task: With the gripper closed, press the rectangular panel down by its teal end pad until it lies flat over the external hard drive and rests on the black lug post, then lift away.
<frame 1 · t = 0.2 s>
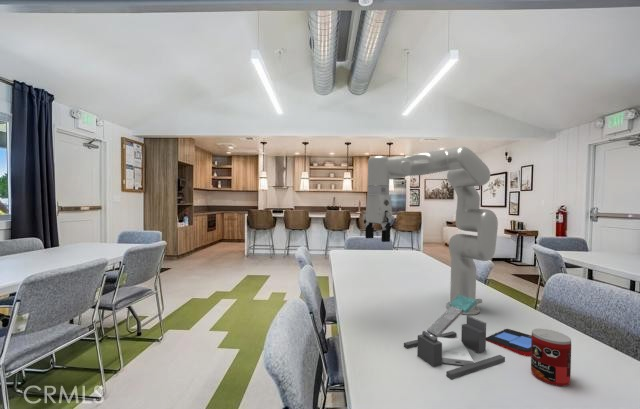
hand: (377, 239, 100), 31 cm above the table, tool pointing down, fingers open, 9 cm apart
game console: (515, 344, 91), on the table
rectangular panel: (448, 317, 83), point 11 cm above the table, hinge at 30.0°
external hard drive: (452, 353, 83), resting in socket frame
canned food: (549, 378, 73), on the table
socket frame: (452, 353, 83), on the table
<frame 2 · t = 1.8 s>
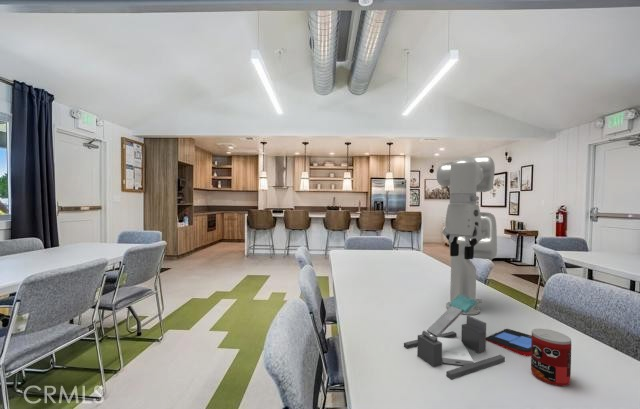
hand: (461, 256, 90), 27 cm above the table, tool pointing down, fingers open, 4 cm apart
nothing on the table moved.
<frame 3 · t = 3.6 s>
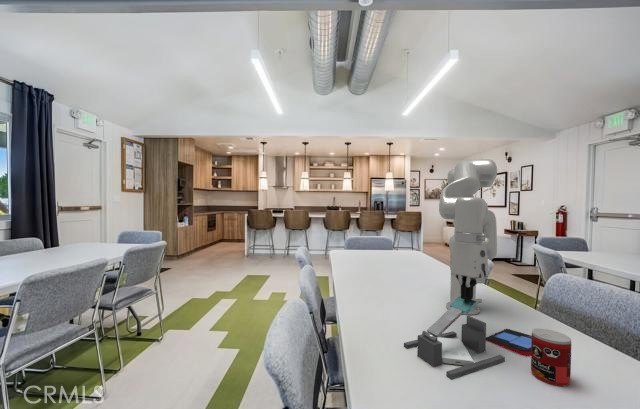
hand: (466, 298, 86), 16 cm above the table, tool pointing down, fingers closed
rectangular panel: (449, 317, 83), point 11 cm above the table, hinge at 28.6°, touching gripper
everything else where it was.
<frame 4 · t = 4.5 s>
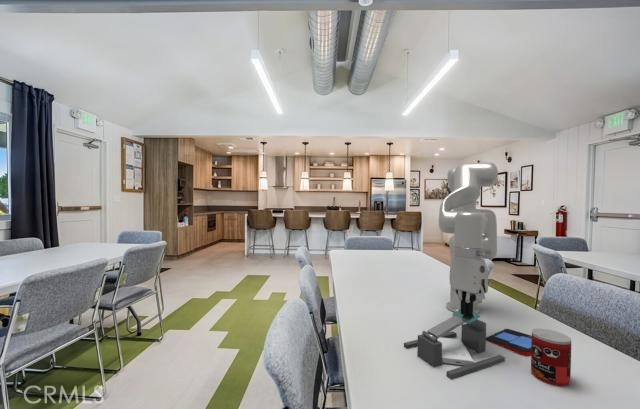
hand: (466, 314, 85), 11 cm above the table, tool pointing down, fingers closed
rectangular panel: (450, 324, 83), point 9 cm above the table, hinge at 14.2°, touching gripper
everything else where it was.
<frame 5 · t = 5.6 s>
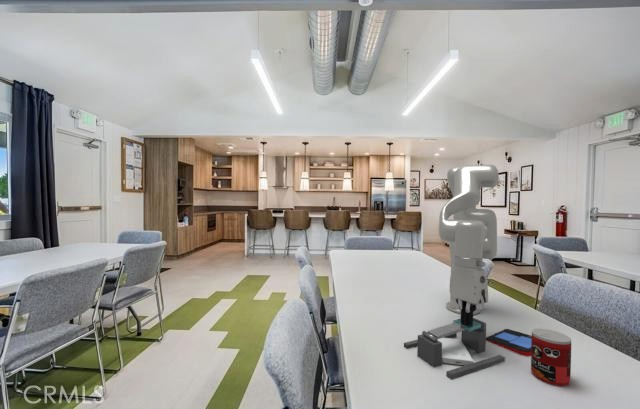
hand: (466, 323, 85), 8 cm above the table, tool pointing down, fingers closed
rectangular panel: (451, 329, 83), point 7 cm above the table, hinge at 4.0°, touching gripper
everything else where it was.
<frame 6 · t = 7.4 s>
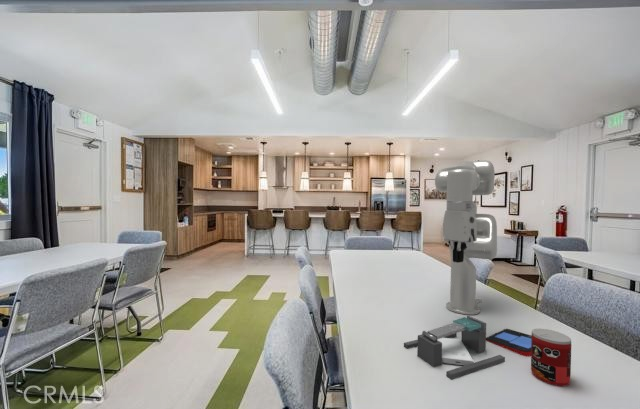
hand: (458, 261, 95), 25 cm above the table, tool pointing down, fingers closed
rectangular panel: (451, 329, 83), point 7 cm above the table, hinge at 4.0°
everything else where it was.
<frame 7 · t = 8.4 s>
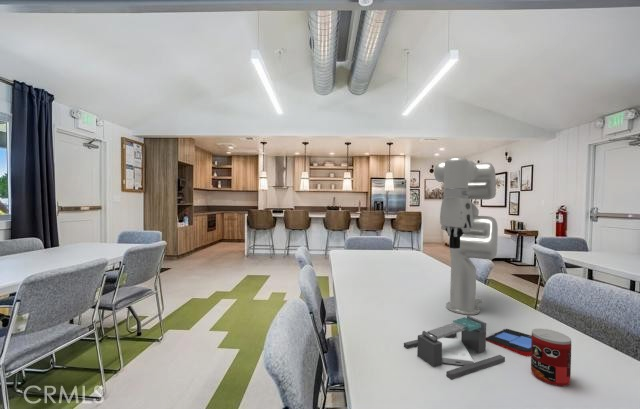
hand: (454, 247, 97), 29 cm above the table, tool pointing down, fingers closed
nothing on the table moved.
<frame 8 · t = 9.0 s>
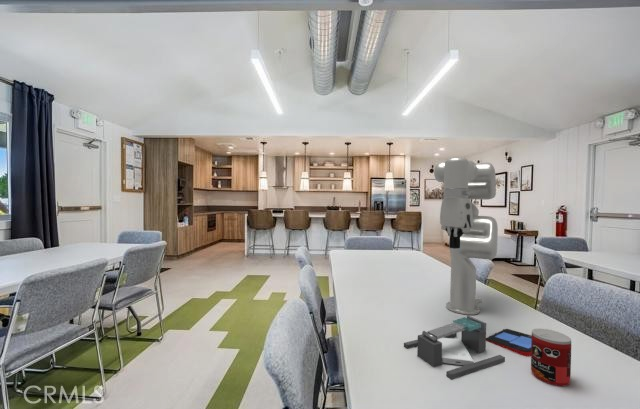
hand: (454, 247, 97), 29 cm above the table, tool pointing down, fingers closed
nothing on the table moved.
at the end: rectangular panel at +4° (first picture: +30°); external hard drive moved 0.0 cm from its start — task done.
